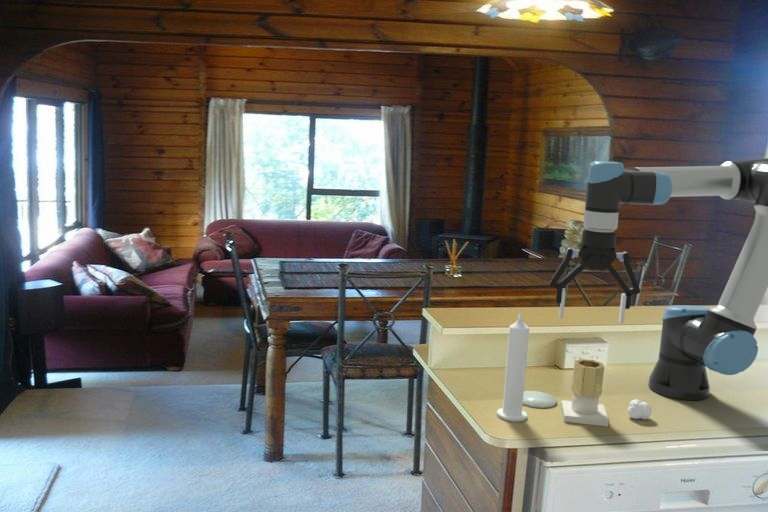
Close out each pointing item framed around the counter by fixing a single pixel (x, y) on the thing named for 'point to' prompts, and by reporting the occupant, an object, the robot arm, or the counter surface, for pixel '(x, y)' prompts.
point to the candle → (515, 372)
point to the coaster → (538, 399)
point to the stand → (584, 411)
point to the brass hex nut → (587, 378)
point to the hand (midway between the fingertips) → (590, 319)
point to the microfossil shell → (639, 410)
